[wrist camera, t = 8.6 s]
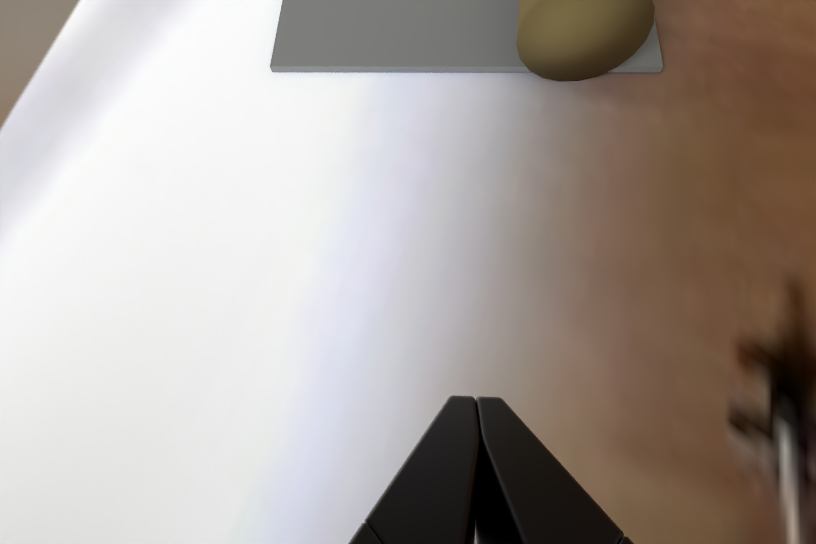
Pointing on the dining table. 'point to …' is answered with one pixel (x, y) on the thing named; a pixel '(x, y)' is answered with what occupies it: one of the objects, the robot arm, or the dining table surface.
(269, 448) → the dining table surface
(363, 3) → the rubber mat
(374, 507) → the robot arm
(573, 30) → the cork
